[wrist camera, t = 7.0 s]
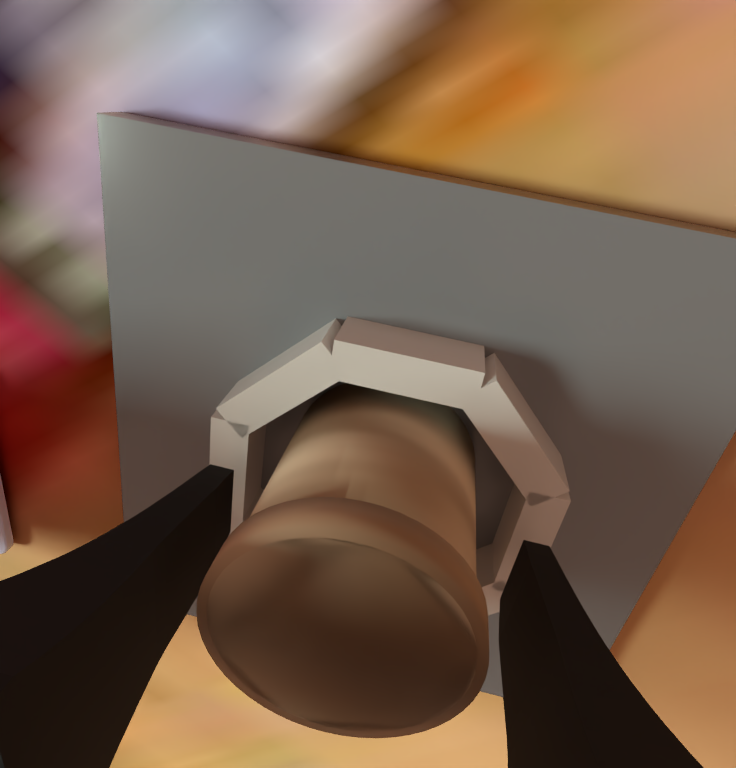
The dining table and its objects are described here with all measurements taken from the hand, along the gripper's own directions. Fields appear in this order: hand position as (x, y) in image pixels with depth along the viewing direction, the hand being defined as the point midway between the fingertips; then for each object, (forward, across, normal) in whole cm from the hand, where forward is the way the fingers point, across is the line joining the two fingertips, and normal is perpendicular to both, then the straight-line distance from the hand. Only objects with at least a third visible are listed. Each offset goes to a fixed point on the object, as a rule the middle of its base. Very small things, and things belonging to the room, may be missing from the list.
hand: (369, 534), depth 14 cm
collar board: (+3, 0, 0) cm, 3 cm away
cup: (+2, 0, -1) cm, 2 cm away
